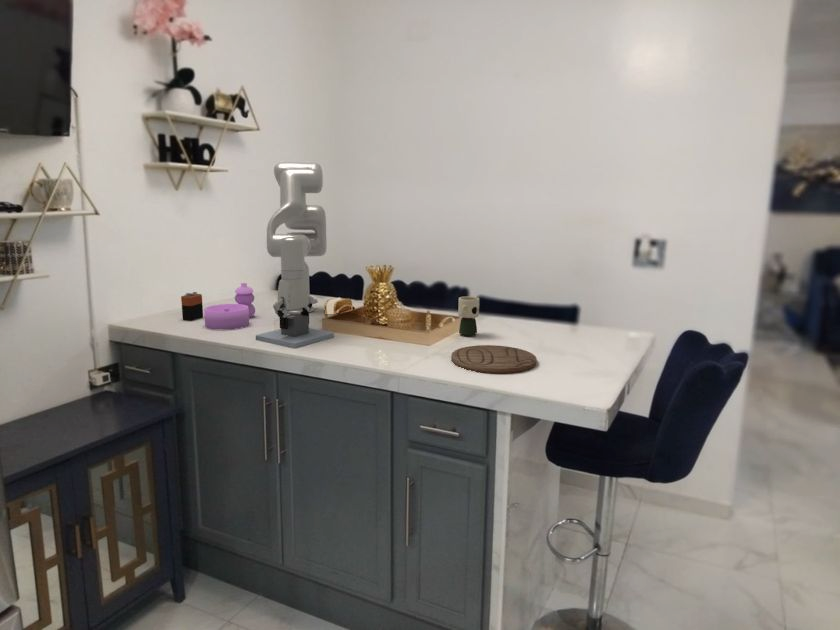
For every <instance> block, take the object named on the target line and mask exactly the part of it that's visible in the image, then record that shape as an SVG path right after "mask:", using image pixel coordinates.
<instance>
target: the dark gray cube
mask: <svg viewBox="0 0 840 630" xmlns="http://www.w3.org/2000/svg"><path fill="white" fill-rule="evenodd" d="M286 317H288V329H281V328H280V329H281V334H282V335H287V336H292V337H298V336H301V335H305V334H309V328H310V325H309V324H310V317H309V318H308V316H306V315H301V314H287V316H286Z"/></svg>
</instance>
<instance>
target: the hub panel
mask: <svg viewBox="0 0 840 630" xmlns="http://www.w3.org/2000/svg"><path fill="white" fill-rule="evenodd" d="M334 336H335V333H334V332H331V331H326V330H321V329H316V328H313V327H309V334H305V335H301V336H298V337H292V336H287V335H282V334H281V328H280V329H276V330H271V331H267V332H264V333H263V332H262V333H260V334H256V335H255V340H256V341H260V342H266V343H271V344H273V343H274V345H278V344H279V345H278V346H282V345H284V347H287V346H288V347H287V348H291V347H292V348H293V349H298V348H300V346H301V347H304V346H308V345H310V344H314V342H315V343H318V342H321V340H322V341H325V340H328V338H329V339H331V338H334ZM324 339H325V340H324ZM307 344H308V345H307ZM303 345H304V346H303ZM297 347H298V348H297ZM292 348H291V349H292Z"/></svg>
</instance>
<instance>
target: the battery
mask: <svg viewBox="0 0 840 630" xmlns="http://www.w3.org/2000/svg"><path fill="white" fill-rule="evenodd" d="M180 299H181V300H180V301H181V302H180V303H181V313H182V314H181V316H182V320H183V321H190V322H192V321H195V320H199V319H202V318H204V309H203V295H202V294H201V293H198V292H197V291H193V292H192V293H191V292H186V293H185V294H184V295H182V296H180Z"/></svg>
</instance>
